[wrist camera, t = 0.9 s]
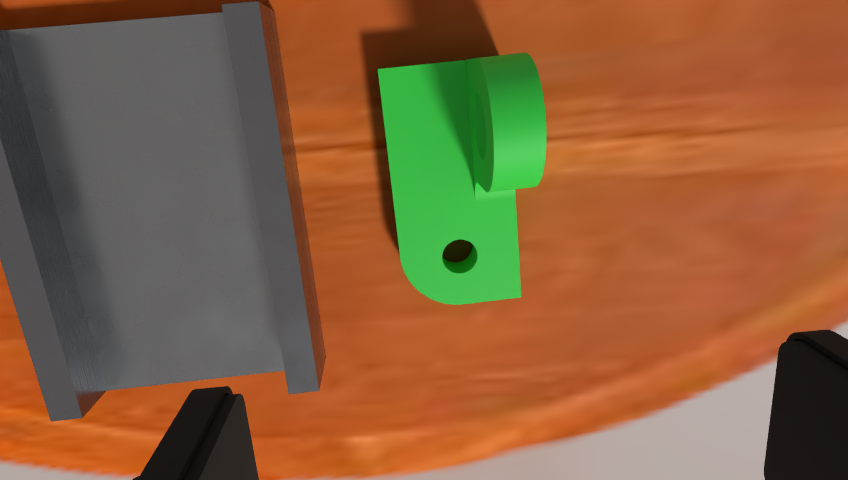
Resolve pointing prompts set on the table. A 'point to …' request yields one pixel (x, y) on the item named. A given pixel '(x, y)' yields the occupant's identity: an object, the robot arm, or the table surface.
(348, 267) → the table surface
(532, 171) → the mechanical part
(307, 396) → the table surface
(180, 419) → the robot arm
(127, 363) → the cradle
